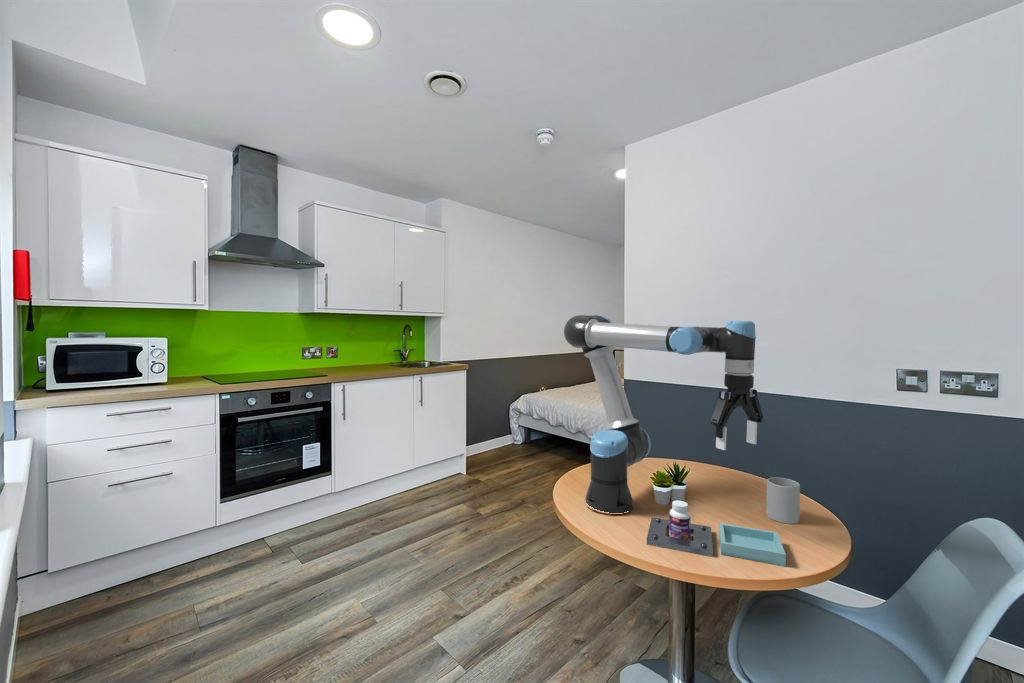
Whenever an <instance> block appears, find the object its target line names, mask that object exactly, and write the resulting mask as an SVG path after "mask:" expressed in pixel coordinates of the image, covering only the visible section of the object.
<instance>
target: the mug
mask: <svg viewBox="0 0 1024 683" xmlns="http://www.w3.org/2000/svg"><path fill="white" fill-rule="evenodd" d="M800 503H801V485H800V483H799V482H797V481H796V480H794V479H790V478H785V477H779V476H778V477H777V476H775V477H774V476H772V477H769V478H767V479H766V509H765V510H766V516H767V517H768V518H769V519H770V520H773V521H774V522H777V523H781V524H786V525H793V524H794V525H795V524H799V523H800V520H801V519H800V518H801V514H800V513H801V511H800V509H801V506H800V505H801V504H800Z"/></svg>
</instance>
